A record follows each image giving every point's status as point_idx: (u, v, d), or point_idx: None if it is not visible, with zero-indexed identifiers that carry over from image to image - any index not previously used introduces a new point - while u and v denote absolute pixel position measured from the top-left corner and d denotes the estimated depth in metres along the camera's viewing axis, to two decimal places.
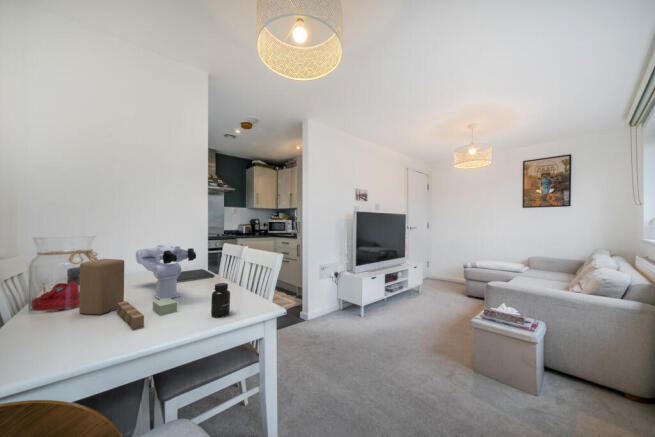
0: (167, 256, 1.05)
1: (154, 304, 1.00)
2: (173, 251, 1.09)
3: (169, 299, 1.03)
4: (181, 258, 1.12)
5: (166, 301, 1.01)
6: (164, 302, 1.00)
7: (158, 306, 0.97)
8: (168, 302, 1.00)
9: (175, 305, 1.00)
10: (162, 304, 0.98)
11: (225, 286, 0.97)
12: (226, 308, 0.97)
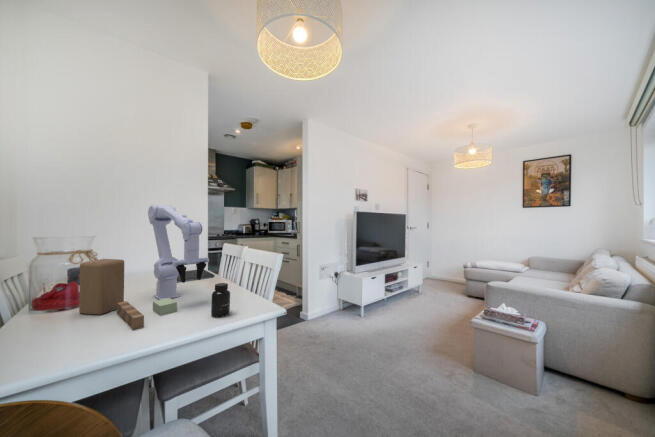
0: None
1: (154, 304, 1.00)
2: None
3: (169, 299, 1.03)
4: None
5: (166, 301, 1.01)
6: (164, 302, 1.00)
7: (158, 306, 0.97)
8: (168, 302, 1.00)
9: (175, 305, 1.00)
10: (162, 304, 0.98)
11: (225, 286, 0.97)
12: (226, 308, 0.97)
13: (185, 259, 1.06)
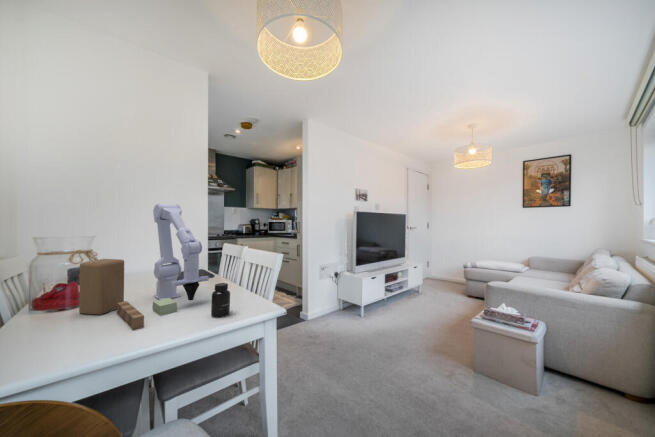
0: None
1: (154, 304, 1.00)
2: None
3: (169, 299, 1.03)
4: None
5: (166, 301, 1.01)
6: (164, 302, 1.00)
7: (158, 306, 0.97)
8: (168, 302, 1.00)
9: (175, 305, 1.00)
10: (162, 304, 0.98)
11: (225, 286, 0.97)
12: (226, 308, 0.97)
13: (185, 279, 1.06)
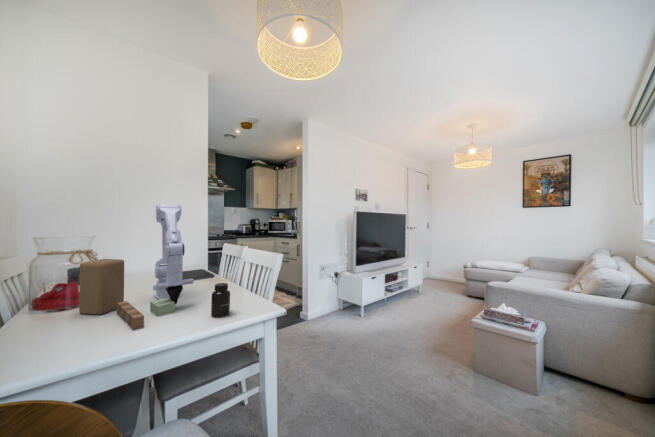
0: None
1: (151, 304, 0.99)
2: None
3: (167, 299, 1.03)
4: None
5: (164, 301, 1.01)
6: (162, 302, 0.99)
7: (155, 306, 0.96)
8: (166, 302, 0.99)
9: (173, 305, 0.99)
10: (159, 304, 0.97)
11: (225, 286, 0.97)
12: (226, 308, 0.97)
13: (167, 282, 1.01)
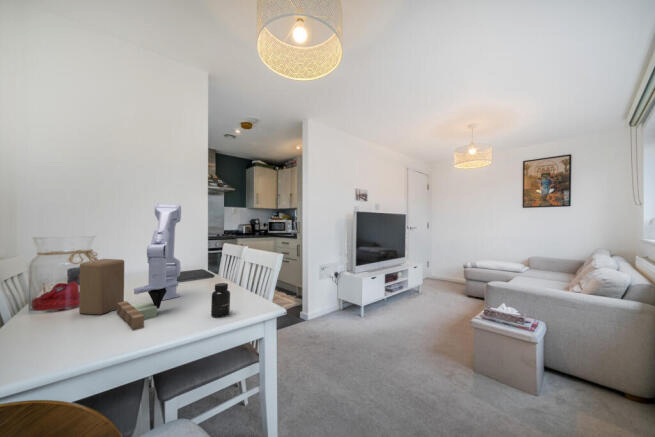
0: None
1: None
2: None
3: (149, 303, 0.98)
4: None
5: (146, 305, 0.96)
6: (143, 307, 0.94)
7: None
8: (147, 307, 0.94)
9: (155, 310, 0.95)
10: (140, 309, 0.92)
11: (225, 286, 0.97)
12: (226, 308, 0.97)
13: (149, 285, 0.96)
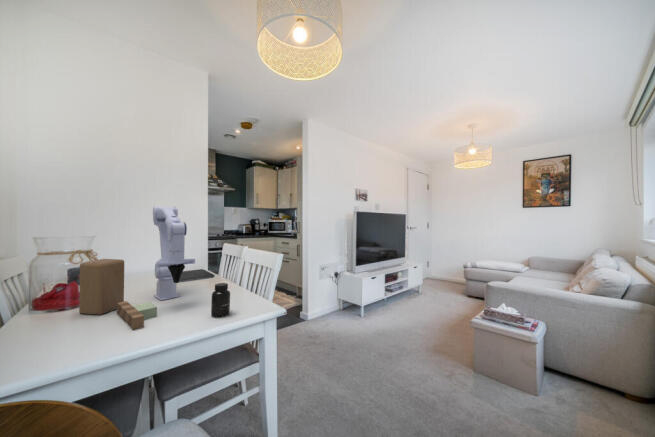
0: None
1: None
2: None
3: (149, 303, 0.98)
4: None
5: (146, 305, 0.96)
6: (143, 307, 0.94)
7: None
8: (147, 307, 0.94)
9: (155, 310, 0.95)
10: (140, 309, 0.92)
11: (225, 286, 0.97)
12: (226, 308, 0.97)
13: (169, 260, 1.03)
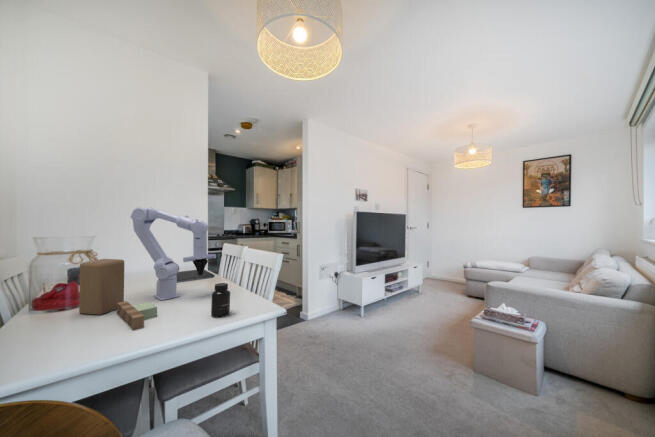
0: None
1: None
2: None
3: (149, 303, 0.98)
4: None
5: (146, 305, 0.96)
6: (143, 307, 0.94)
7: None
8: (147, 307, 0.94)
9: (155, 310, 0.95)
10: (140, 309, 0.92)
11: (225, 286, 0.97)
12: (226, 308, 0.97)
13: (194, 255, 1.16)
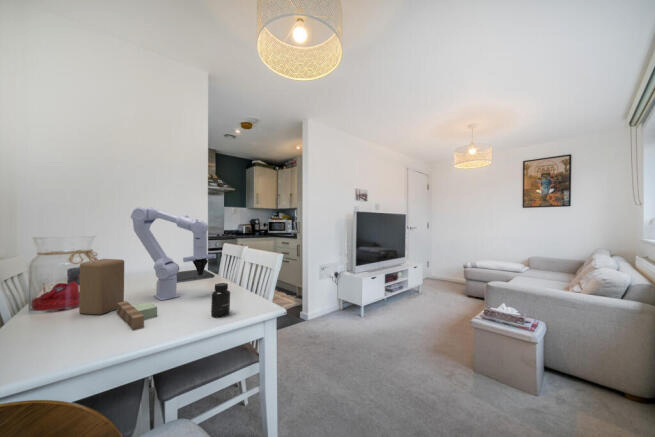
0: None
1: None
2: None
3: (149, 303, 0.98)
4: None
5: (146, 305, 0.96)
6: (143, 307, 0.95)
7: None
8: (148, 307, 0.94)
9: (155, 310, 0.95)
10: (141, 309, 0.92)
11: (225, 286, 0.97)
12: (226, 308, 0.97)
13: (194, 255, 1.16)
